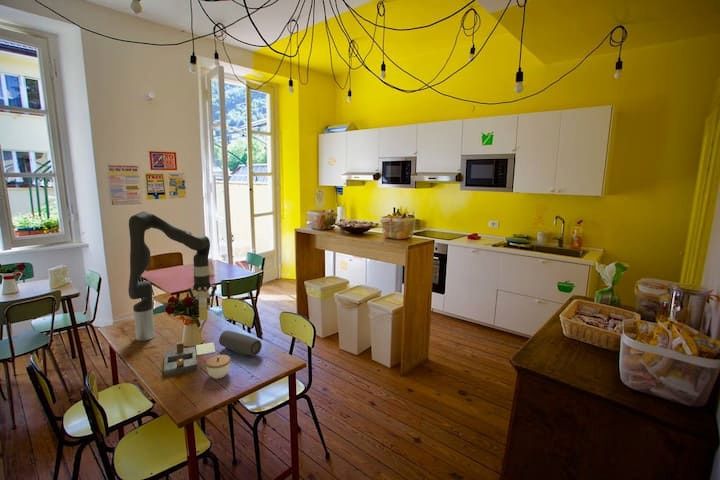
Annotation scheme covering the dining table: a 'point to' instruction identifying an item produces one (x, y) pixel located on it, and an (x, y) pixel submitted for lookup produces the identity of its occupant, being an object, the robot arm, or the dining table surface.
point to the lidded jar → (218, 366)
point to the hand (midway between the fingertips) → (203, 304)
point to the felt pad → (205, 348)
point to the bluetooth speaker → (240, 343)
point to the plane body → (180, 360)
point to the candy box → (203, 305)
